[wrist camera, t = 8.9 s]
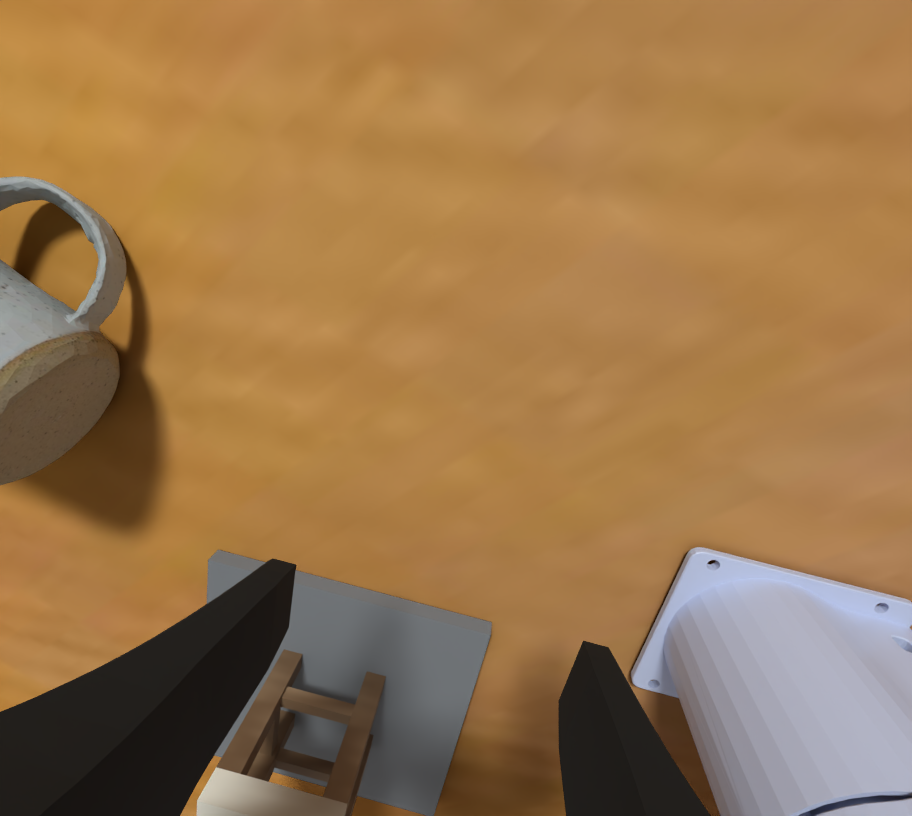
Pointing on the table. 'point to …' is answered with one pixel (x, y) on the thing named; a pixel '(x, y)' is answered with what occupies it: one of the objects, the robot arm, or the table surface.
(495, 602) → the table surface
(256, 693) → the mat
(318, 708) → the stool
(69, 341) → the ceramic mug
